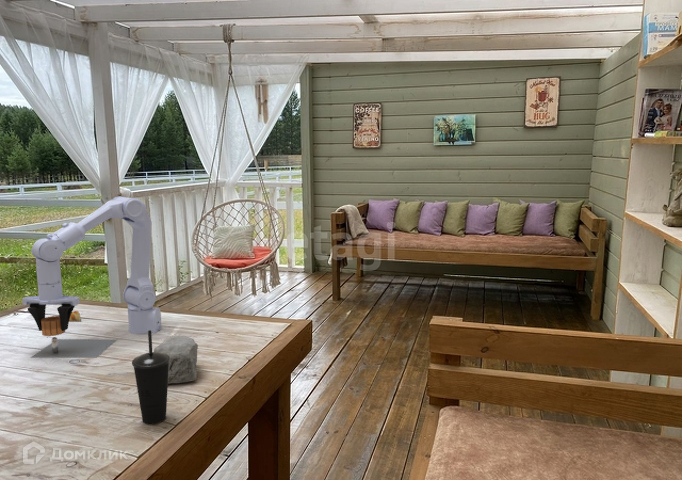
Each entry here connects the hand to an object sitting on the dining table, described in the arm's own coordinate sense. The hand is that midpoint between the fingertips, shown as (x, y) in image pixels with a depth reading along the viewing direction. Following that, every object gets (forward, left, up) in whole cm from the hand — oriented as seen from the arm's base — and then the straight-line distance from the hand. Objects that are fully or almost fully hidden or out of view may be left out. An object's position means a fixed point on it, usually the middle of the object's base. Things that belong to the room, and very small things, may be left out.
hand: (53, 329), depth 142 cm
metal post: (0, 0, -7) cm, 7 cm away
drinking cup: (-39, +34, -8) cm, 52 cm away
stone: (-37, +12, -9) cm, 40 cm away
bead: (0, 0, -1) cm, 1 cm away
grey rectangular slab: (-4, -4, -8) cm, 10 cm away
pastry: (+12, -30, -9) cm, 34 cm away
